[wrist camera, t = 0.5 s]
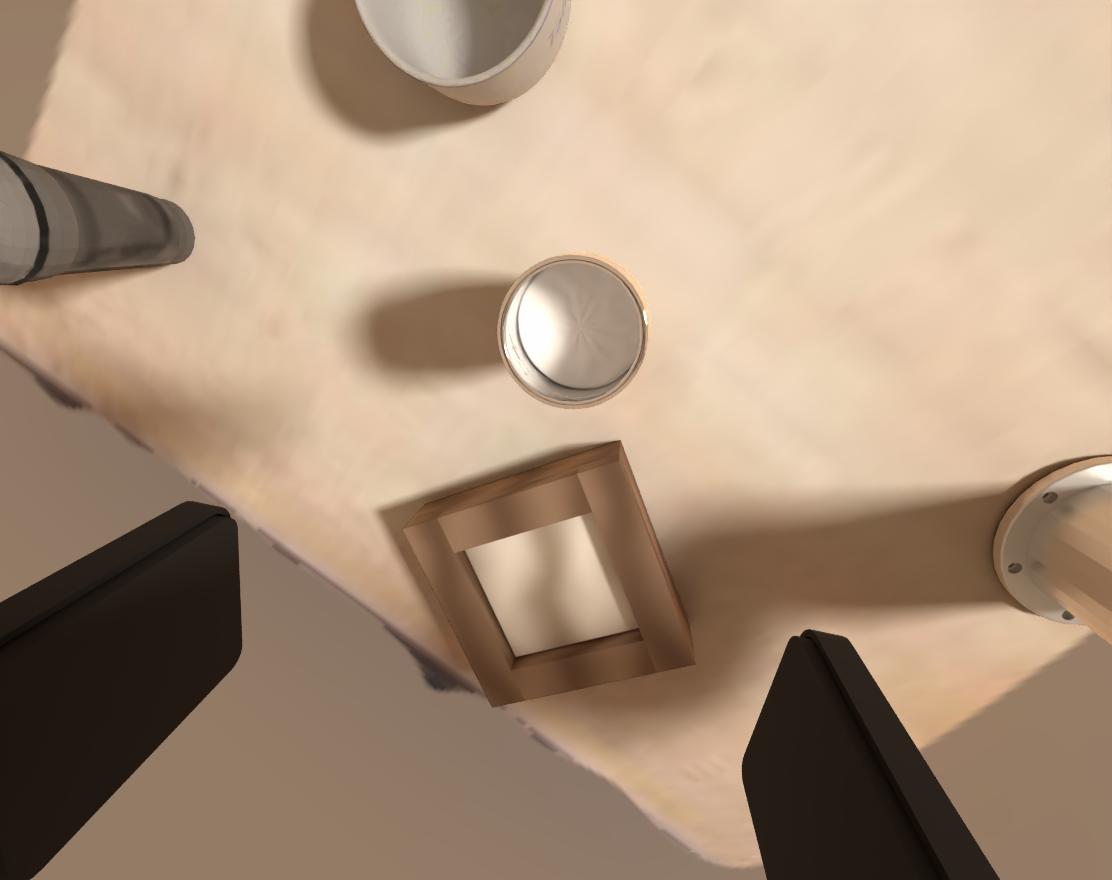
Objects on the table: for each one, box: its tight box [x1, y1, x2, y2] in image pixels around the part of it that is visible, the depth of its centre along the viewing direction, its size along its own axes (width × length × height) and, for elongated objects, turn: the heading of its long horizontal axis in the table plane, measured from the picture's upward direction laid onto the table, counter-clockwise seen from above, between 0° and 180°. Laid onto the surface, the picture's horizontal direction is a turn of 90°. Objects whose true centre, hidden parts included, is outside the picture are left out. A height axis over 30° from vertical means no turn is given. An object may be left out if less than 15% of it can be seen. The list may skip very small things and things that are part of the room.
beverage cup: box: [0, 151, 195, 285], centre depth 30 cm, size 7×7×20 cm
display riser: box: [402, 440, 696, 707], centre depth 41 cm, size 17×17×4 cm
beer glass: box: [497, 253, 651, 409], centre depth 29 cm, size 7×7×15 cm
